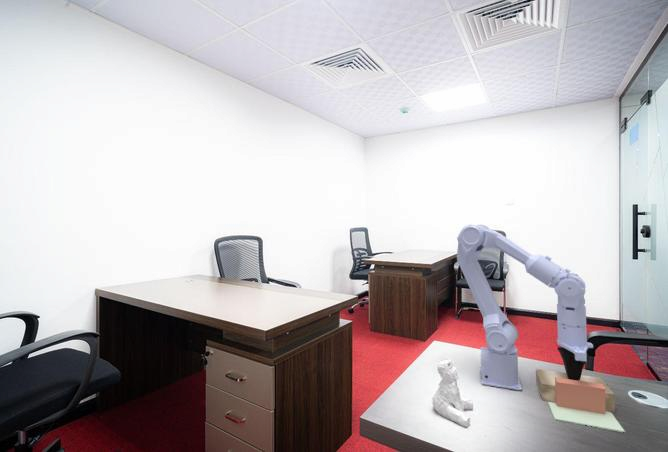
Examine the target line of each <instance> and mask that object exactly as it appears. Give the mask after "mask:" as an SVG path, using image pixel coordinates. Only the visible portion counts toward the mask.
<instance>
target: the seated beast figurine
mask: <svg viewBox="0 0 668 452" xmlns="http://www.w3.org/2000/svg"><path fill="white" fill-rule="evenodd" d="M437 371H438V372H437V373H438V374H439V376H440V377H441V380H440V382H439V383H438V386H439V387H438V388H437V390H436V391H435V393H434V394H433V397H432V398H431V399H432V406H433V407H434V410H436V412H438V414H439V415H441V416H442V417H445V418H447V419H448V420H450V421H452V422H454V423H456V424H458V425H460V426H462V427H464V428H465V427H466V428H468V427H469V426H470V424H471V418H470V416H469V415H468V414H467V413H466V412H465V410H466V411H467V410H471V411H472V410H473V409H474V402H473V401H472V399H469V398H467V397H466V396H461V393H460V389H459V386H458V379H459V376H458V371H457V368H456V367H455V366H454V365H453V363H452V360H451V359H445V360H441V361H440V362H439V363H438V365H437Z"/></svg>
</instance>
